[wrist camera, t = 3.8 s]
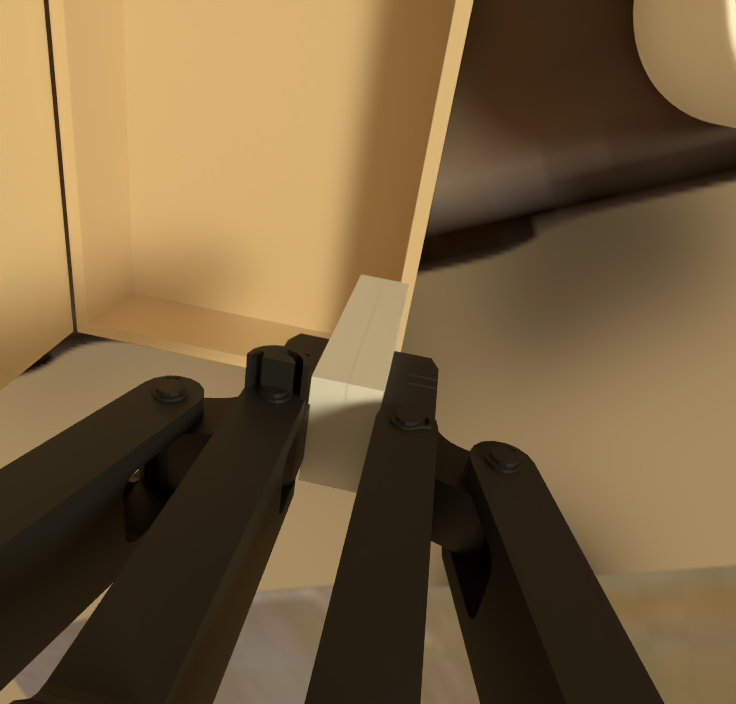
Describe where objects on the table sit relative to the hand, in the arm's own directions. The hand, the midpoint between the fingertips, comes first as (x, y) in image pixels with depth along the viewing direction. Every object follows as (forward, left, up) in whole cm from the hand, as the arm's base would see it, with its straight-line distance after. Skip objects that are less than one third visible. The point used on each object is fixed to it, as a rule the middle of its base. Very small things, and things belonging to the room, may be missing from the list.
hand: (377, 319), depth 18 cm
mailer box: (-4, -7, -12) cm, 15 cm away
